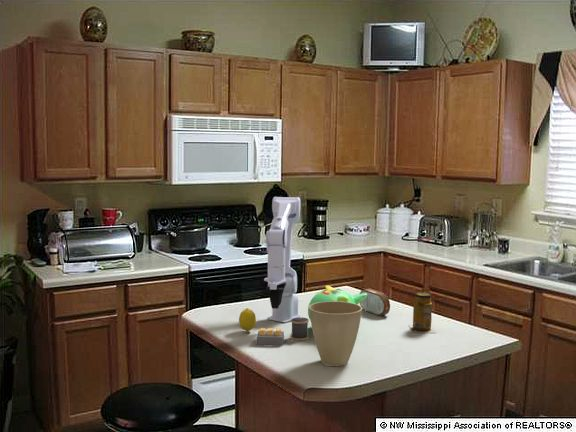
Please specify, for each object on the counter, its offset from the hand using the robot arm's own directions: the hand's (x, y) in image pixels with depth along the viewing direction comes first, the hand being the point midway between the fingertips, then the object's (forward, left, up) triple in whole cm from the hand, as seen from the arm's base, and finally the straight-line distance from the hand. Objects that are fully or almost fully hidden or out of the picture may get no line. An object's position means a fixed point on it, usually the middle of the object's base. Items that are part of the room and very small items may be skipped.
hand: (276, 306), depth 203 cm
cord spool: (+1, +10, -8) cm, 13 cm away
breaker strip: (+11, +6, -9) cm, 15 cm away
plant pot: (+14, +31, -9) cm, 35 cm away
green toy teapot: (-12, +15, -9) cm, 21 cm away
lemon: (+6, -7, -9) cm, 13 cm away
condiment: (-31, +38, -9) cm, 50 cm away
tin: (-40, +15, -9) cm, 44 cm away
